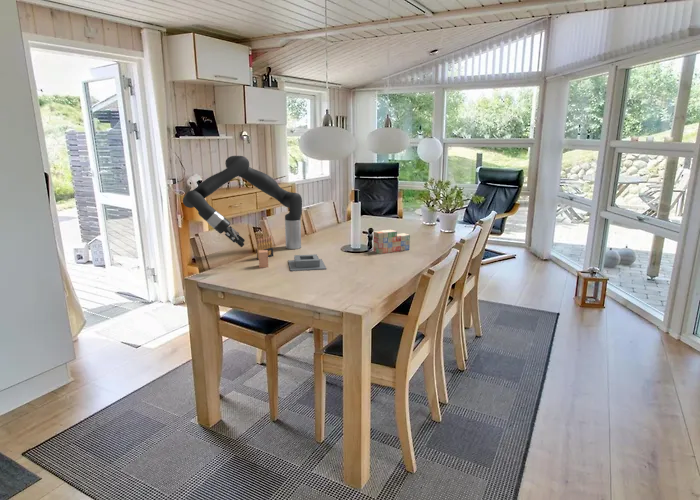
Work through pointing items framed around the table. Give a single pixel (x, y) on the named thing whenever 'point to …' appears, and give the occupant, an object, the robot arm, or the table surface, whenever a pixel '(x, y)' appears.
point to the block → (263, 258)
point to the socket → (306, 263)
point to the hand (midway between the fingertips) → (243, 243)
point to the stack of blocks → (390, 241)
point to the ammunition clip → (265, 246)
